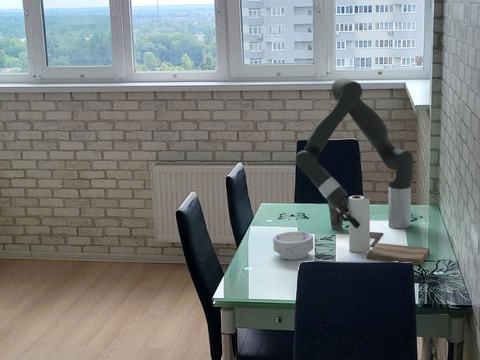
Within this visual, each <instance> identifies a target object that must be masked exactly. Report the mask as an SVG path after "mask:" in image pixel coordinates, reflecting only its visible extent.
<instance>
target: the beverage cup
mask: <svg viewBox="0 0 480 360" xmlns="http://www.w3.org/2000/svg"><path fill="white" fill-rule="evenodd" d="M327 205H328V209H329V210H328V212H329V218H330V226H331V230H333V231H339V230H342V229H343V225H344V224H343V223H344V220H343V219H342V218H341V217H340V216H339V215H338V214H337V213H336V212H335V210H336V209H337V208H338V207H337V206H335V207H333V206H332V205H331V204H330V203H329V201H328V200H327ZM341 213H342V212H341Z"/></svg>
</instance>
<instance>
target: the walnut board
mask: <svg viewBox="0 0 480 360" xmlns="http://www.w3.org/2000/svg"><path fill="white" fill-rule="evenodd" d="M430 252H431V251H430V247H419V246H413V245H412V246H410V245H401V244H392V243H390V244H389V243H383V242H382V243H381V242H377V243H376V245H375V246H374V247H371V248H370V251H369V252H367V253H366V260H373V261H380V262H389V261H398V262H411V263H413V264H412V265H416V266H421V265H422V264H423V263H424V261H425V260H426V259H427V257H428V256H429V255H430ZM398 262H397V263H398Z"/></svg>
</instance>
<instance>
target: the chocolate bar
mask: <svg viewBox="0 0 480 360" xmlns="http://www.w3.org/2000/svg"><path fill="white" fill-rule="evenodd" d="M383 235H384V232H377V231H370V248H373V247H374V246H375V245H376V244H377V243H379V241H380V239H381V238H382V236H383Z"/></svg>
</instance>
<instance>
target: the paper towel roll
mask: <svg viewBox="0 0 480 360" xmlns="http://www.w3.org/2000/svg"><path fill="white" fill-rule="evenodd" d="M348 199H349V208H350V210H351V212H352V215H353V217H354V218H355V219H356V220H357V221H358V222H359V224H360V226H359V227H358V228H355V227H354V226H353V225H352V224H351V222H350V221H348V247H349V249H348V250H349V252H352V253H366V252H367V253H368V252H369V251H370V250H371V247H370V232H371V231H370V230H371V229H370V228H371V225H370V224H371V223H370V221H371V220H370V217H371V216H370V198H365V196H363V195H351V196H348ZM349 216H350V215H349Z"/></svg>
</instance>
